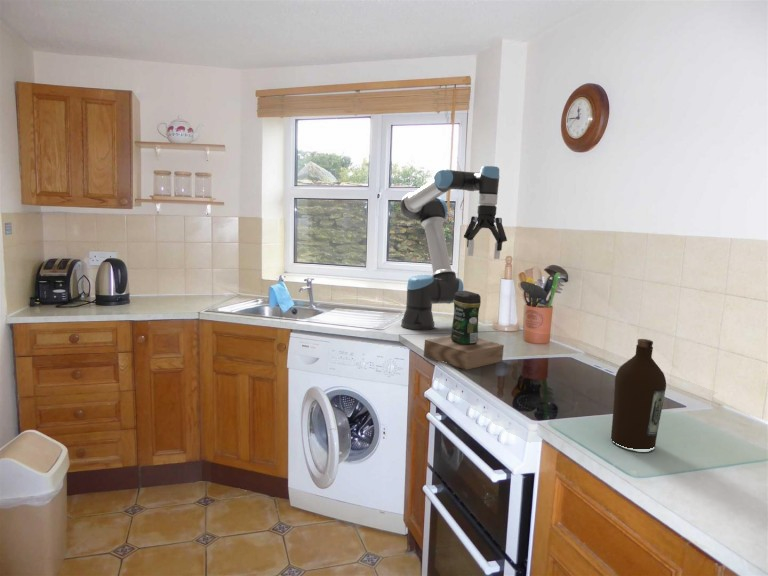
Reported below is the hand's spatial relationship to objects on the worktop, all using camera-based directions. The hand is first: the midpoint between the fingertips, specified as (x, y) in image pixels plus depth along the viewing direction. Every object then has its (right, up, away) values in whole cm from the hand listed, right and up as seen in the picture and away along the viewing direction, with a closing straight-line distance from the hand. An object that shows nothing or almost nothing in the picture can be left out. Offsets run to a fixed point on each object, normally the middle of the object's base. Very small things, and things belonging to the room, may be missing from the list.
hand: (483, 257), depth 219 cm
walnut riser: (-12, -38, -27) cm, 48 cm away
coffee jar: (-12, -32, -28) cm, 44 cm away
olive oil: (+17, -50, -94) cm, 108 cm away
